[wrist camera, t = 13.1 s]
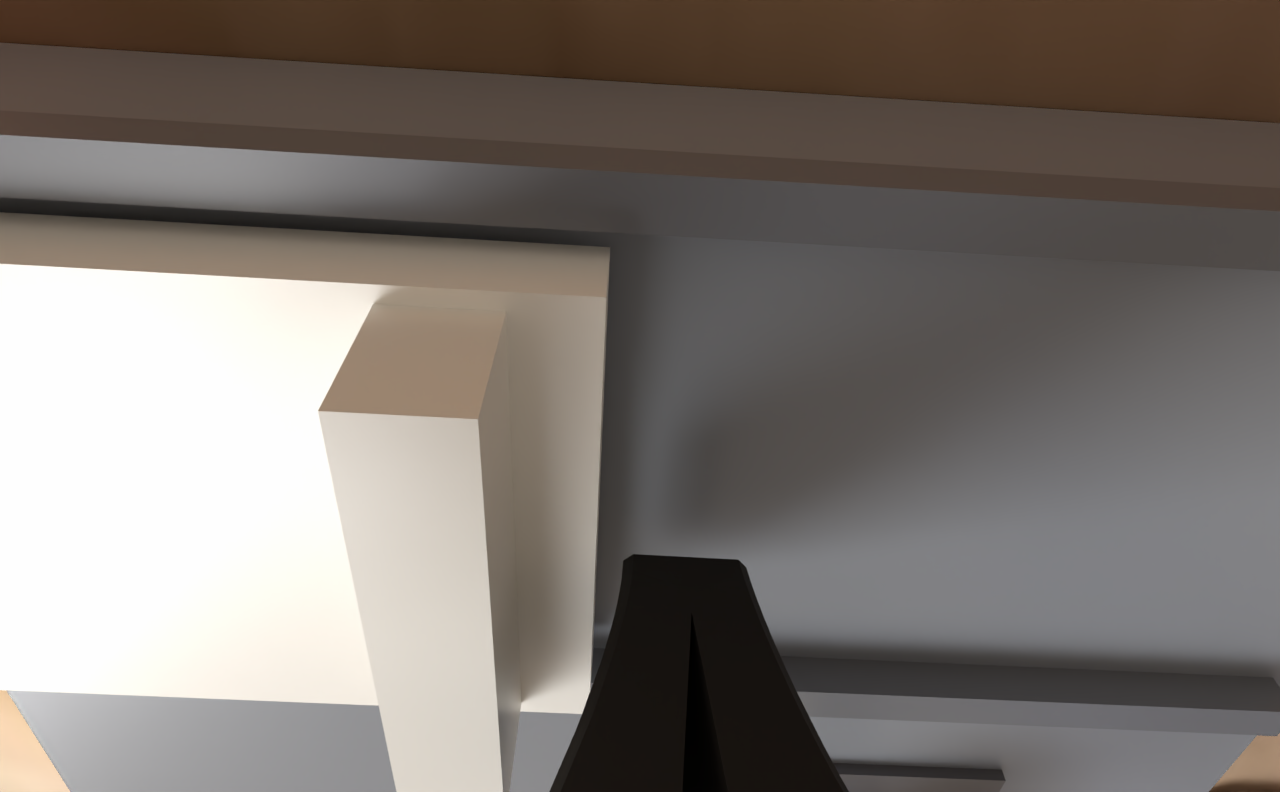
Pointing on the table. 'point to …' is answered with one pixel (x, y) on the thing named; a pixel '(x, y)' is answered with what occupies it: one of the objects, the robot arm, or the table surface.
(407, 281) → the cover
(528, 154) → the case
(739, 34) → the table surface
